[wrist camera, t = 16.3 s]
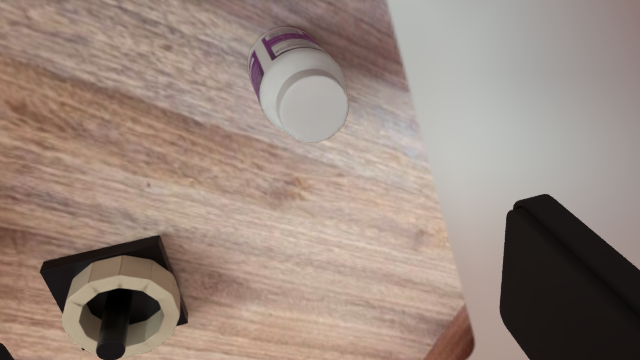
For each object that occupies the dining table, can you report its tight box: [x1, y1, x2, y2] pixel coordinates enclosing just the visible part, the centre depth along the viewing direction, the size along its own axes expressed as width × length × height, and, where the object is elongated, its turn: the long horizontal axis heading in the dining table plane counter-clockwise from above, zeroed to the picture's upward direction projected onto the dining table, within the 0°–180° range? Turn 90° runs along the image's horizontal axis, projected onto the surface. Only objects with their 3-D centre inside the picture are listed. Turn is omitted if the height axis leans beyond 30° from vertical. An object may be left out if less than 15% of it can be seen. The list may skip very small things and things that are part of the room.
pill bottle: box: [248, 27, 349, 143], centre depth 31 cm, size 5×5×10 cm
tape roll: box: [61, 255, 180, 358], centre depth 40 cm, size 8×8×2 cm
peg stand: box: [40, 235, 188, 360], centre depth 39 cm, size 9×9×7 cm
